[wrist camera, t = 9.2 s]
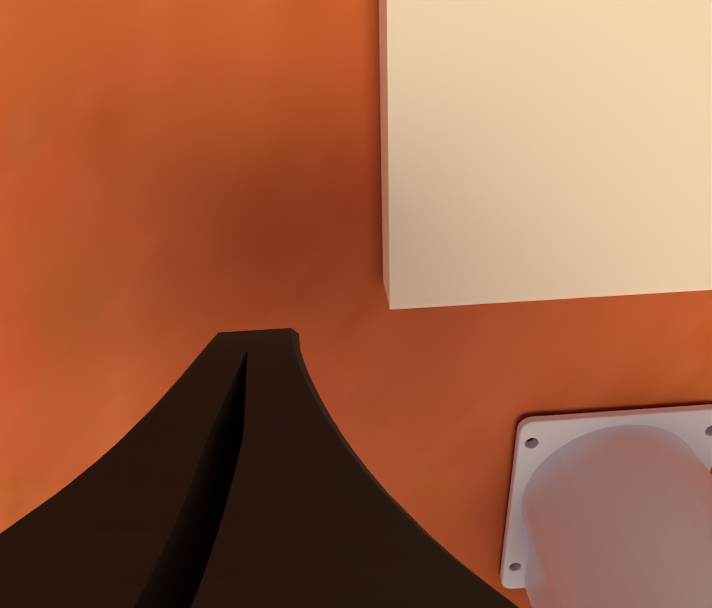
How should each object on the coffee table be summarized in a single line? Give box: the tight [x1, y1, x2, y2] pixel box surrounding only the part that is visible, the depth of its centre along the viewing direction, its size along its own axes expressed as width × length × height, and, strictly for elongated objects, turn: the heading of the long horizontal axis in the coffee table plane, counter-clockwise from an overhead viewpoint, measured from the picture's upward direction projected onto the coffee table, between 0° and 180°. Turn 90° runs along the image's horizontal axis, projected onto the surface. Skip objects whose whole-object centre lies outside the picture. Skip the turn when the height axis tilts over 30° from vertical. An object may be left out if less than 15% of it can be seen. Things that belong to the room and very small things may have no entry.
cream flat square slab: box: [379, 0, 712, 310], centre depth 16 cm, size 14×14×2 cm
